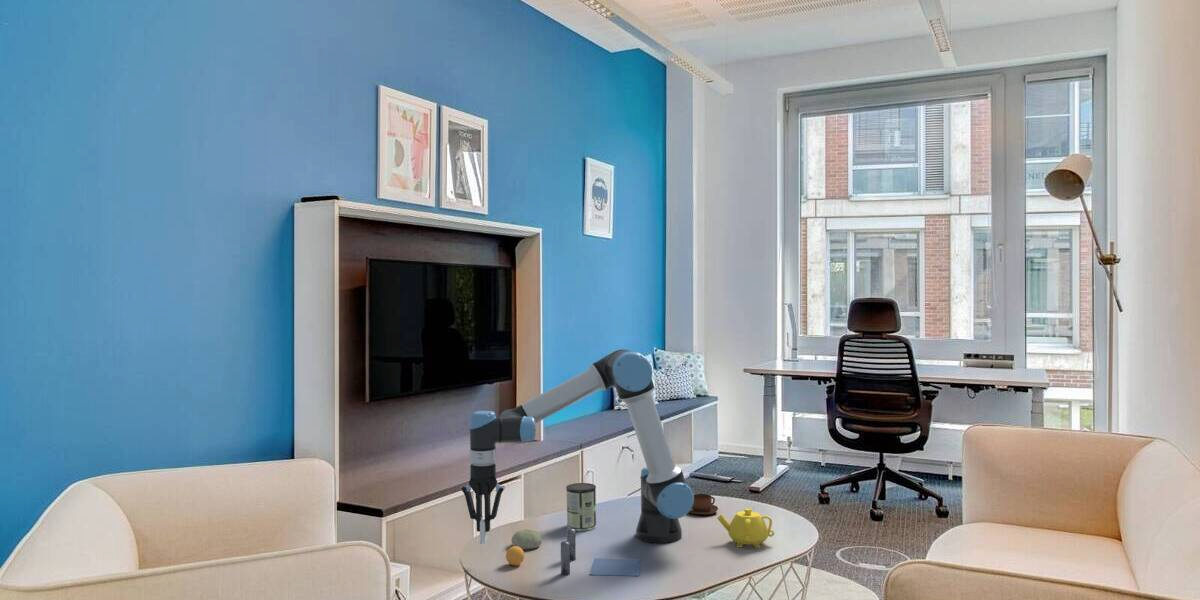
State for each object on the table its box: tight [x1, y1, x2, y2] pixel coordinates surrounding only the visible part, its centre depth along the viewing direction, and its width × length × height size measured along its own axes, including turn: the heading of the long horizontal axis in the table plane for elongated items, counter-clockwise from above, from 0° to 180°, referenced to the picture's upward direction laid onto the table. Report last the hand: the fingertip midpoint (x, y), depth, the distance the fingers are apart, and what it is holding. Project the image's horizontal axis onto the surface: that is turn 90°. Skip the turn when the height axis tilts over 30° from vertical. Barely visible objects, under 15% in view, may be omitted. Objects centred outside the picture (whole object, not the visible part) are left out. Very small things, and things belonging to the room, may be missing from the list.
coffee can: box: [565, 482, 597, 532], centre depth 273 cm, size 10×10×14 cm
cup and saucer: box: [688, 493, 719, 516], centre depth 290 cm, size 12×12×6 cm
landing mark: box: [589, 557, 642, 577], centre depth 232 cm, size 14×14×1 cm
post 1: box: [560, 540, 571, 576], centre depth 227 cm, size 3×3×9 cm
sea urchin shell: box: [511, 529, 543, 550], centre depth 252 cm, size 9×8×8 cm
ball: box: [505, 545, 525, 566], centre depth 234 cm, size 6×6×6 cm
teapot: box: [716, 507, 775, 548], centre depth 253 cm, size 14×14×11 cm
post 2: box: [566, 528, 577, 562], centre depth 239 cm, size 3×3×9 cm
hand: (483, 542), depth 235 cm, fingers closed
